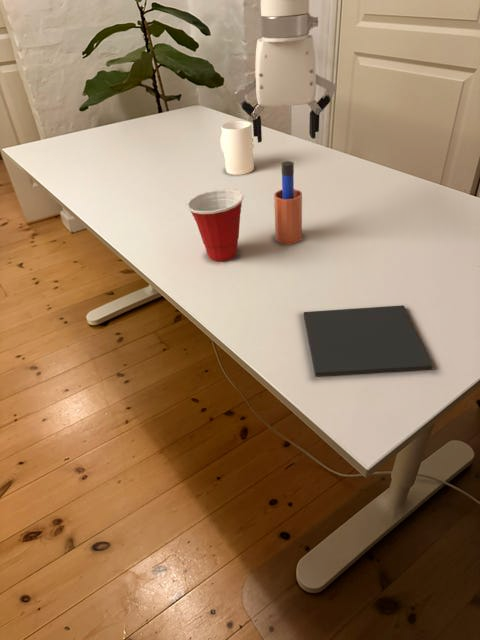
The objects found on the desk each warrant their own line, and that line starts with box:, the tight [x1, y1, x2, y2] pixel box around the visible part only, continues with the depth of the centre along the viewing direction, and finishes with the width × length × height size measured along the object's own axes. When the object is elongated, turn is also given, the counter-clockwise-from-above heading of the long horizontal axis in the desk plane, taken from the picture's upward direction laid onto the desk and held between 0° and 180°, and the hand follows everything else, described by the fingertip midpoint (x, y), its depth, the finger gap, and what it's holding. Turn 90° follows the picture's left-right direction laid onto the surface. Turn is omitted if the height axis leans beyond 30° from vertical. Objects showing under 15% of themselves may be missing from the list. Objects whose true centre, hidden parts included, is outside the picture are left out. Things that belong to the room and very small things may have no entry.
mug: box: [219, 120, 255, 176], centre depth 128 cm, size 8×12×12 cm
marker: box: [281, 160, 295, 199], centre depth 91 cm, size 2×2×15 cm
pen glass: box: [273, 188, 303, 245], centre depth 94 cm, size 5×5×10 cm
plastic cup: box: [186, 188, 245, 262], centre depth 89 cm, size 11×11×12 cm
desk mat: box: [303, 305, 434, 377], centre depth 69 cm, size 16×14×1 cm
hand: (285, 138), depth 84 cm, fingers open, 9 cm apart
